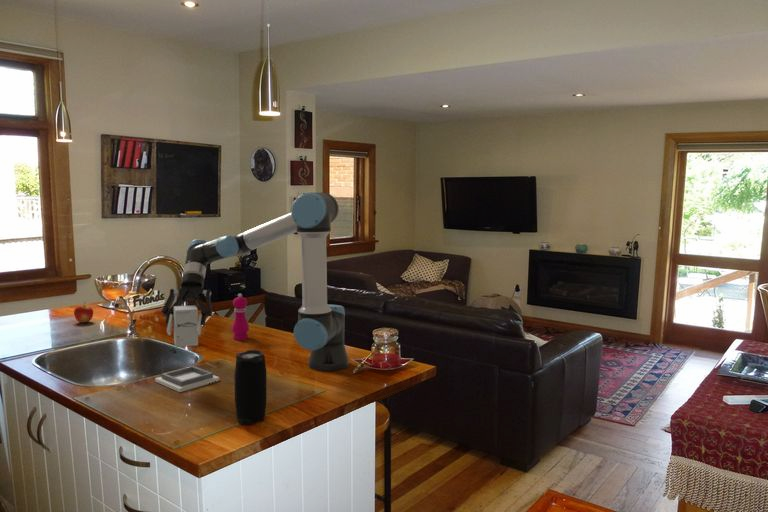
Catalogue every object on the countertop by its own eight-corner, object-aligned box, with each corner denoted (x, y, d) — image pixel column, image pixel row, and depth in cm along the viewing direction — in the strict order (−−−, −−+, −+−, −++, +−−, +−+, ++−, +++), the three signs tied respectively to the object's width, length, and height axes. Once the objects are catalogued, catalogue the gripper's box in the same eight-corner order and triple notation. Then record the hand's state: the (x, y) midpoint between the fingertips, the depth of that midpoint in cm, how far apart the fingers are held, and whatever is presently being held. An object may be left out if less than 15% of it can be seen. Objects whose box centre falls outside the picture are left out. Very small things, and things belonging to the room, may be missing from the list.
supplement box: (175, 347, 186) (174, 310, 185) (173, 341, 193) (173, 305, 191) (198, 345, 189) (198, 308, 188) (196, 340, 196) (195, 304, 194)
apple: (82, 320, 275) (81, 300, 274) (97, 321, 274) (96, 300, 273) (70, 324, 267) (69, 303, 266) (86, 325, 266) (85, 304, 265)
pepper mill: (228, 339, 246) (227, 294, 244) (238, 335, 253) (238, 291, 250) (242, 341, 243) (241, 295, 241) (252, 337, 250) (251, 292, 248)
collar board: (219, 380, 194) (219, 372, 193) (179, 392, 182) (179, 384, 182) (194, 371, 203) (194, 363, 203) (155, 381, 191) (155, 373, 191)
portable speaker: (230, 425, 157) (229, 357, 155) (242, 412, 167) (241, 348, 164) (260, 427, 157) (260, 358, 154) (270, 414, 166) (269, 349, 164)
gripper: (225, 284, 205) (218, 338, 191) (164, 283, 203) (152, 338, 189) (223, 271, 199) (215, 327, 186) (159, 271, 197) (147, 327, 183)
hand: (183, 333), depth 187 cm, fingers closed on supplement box, 9 cm apart
